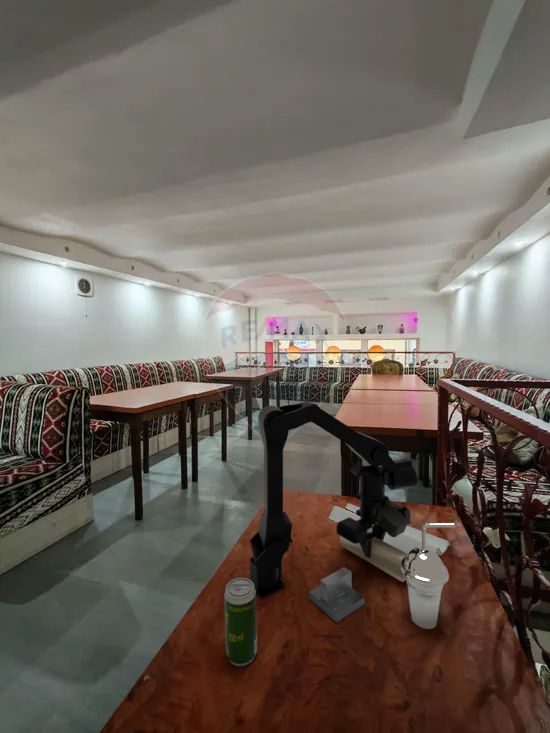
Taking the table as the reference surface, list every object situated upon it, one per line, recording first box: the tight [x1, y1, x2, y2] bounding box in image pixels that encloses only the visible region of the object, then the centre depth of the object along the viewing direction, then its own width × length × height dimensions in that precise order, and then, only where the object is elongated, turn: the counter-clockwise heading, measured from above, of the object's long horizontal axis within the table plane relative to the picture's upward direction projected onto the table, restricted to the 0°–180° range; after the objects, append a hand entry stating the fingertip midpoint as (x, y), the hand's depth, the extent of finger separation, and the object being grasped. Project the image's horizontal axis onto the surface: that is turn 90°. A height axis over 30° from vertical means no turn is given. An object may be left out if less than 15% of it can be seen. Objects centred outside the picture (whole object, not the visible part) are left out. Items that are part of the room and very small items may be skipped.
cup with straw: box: [401, 522, 456, 630], centre depth 66 cm, size 8×9×20 cm
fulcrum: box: [308, 566, 365, 624], centre depth 72 cm, size 8×8×6 cm
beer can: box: [223, 577, 258, 667], centre depth 60 cm, size 5×5×12 cm
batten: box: [339, 535, 407, 583], centre depth 83 cm, size 3×18×5 cm, turn 37°
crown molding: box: [328, 502, 451, 557], centre depth 98 cm, size 31×12×4 cm, turn 43°
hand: (372, 554), depth 83 cm, fingers closed on batten, 3 cm apart
